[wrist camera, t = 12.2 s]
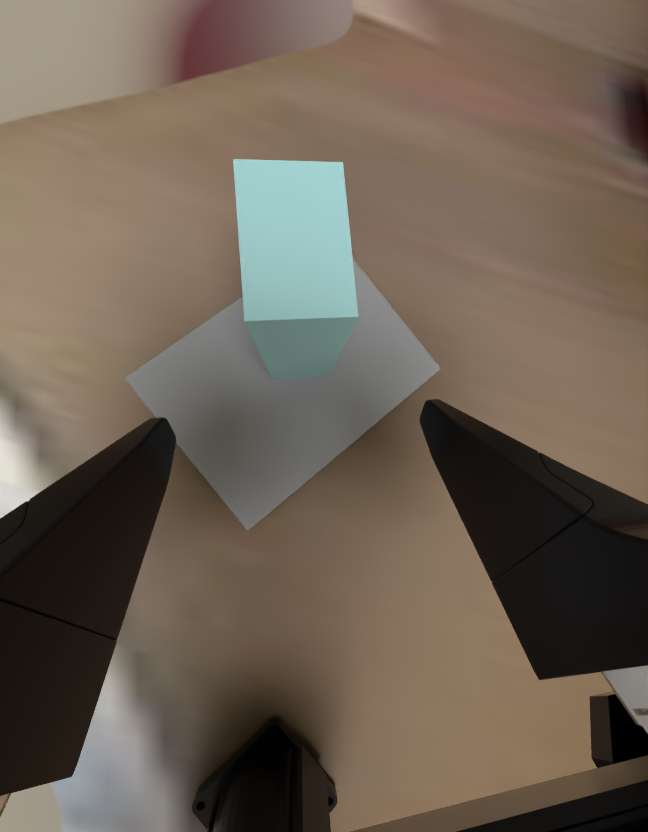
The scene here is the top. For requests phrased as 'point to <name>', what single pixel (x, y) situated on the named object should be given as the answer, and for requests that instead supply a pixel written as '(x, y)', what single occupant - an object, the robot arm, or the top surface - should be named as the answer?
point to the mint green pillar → (295, 263)
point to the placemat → (278, 401)
